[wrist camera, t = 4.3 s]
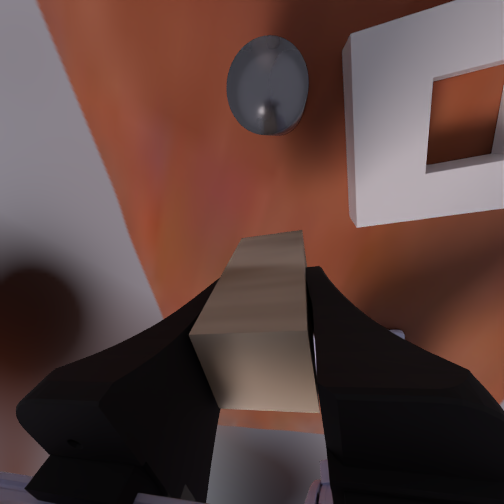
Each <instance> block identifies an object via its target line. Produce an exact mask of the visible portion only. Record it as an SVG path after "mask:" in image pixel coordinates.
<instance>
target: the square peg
mask: <svg viewBox="0 0 504 504" xmlns="http://www.w3.org/2000/svg"><path fill="white" fill-rule="evenodd" d="M305 267H307V263H306V256H305V248H304V241H303V233H302V230H299V231H291V232H284V233H277V234H270V235H262V236H255V237H248V238H242V239H241V241H240V243H239V244H238V246H237V248H236V250H235V252H234V253H233V255H232V257H231V259H230V261H229V262H228V264H227V266H226V268H225V270H224V271H223V273H222V275H221V277H220V279H219V281H218V282H217V284H216V286H215V288H214V290H213V291H212V293H211V295H210V297H209V299H208V300H207V302H206V304H205V306H204V308H203V310H202V311H201V313H200V315H199V317H198V319H197V320H196V322H195V324H194V326H193V328H192V329H191V331H190V333H189V337H190V339H191V342H192V344H193V347H194V349H195V351H196V354H197V356H198V359H199V361H200V363H201V366H202V368H203V371H204V373H205V375H206V378H207V380H208V383H209V385H210V387H211V390H212V392H213V395H214V397H215V399H216V402H217V404H218V407H219V408H223V409H244V410H265V411H286V412H307V413H320V411H319V398H318V387H317V374H316V361H315V349H314V337H313V328H312V321H311V313H310V306H309V299H308V292H307V285H306V277H305Z"/></svg>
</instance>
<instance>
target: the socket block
mask: <svg viewBox="0 0 504 504" xmlns="http://www.w3.org/2000/svg"><path fill="white" fill-rule="evenodd" d="M342 64H343V86H344V108H345V130H346V152H347V174H348V196H349V216H350V218H351V219H352V221H353V222H354V224H355V225H356V227H357V228H358V227H366V226H373V225H381V224H388V223H396V222H404V221H411V220H419V219H426V218H434V217H442V216H449V215H457V214H464V213H472V212H479V211H487V210H495V209H502V208H504V87H503V92H502V98H501V103H500V109H499V114H498V120H497V125H496V130H495V136H494V141H493V147H492V152H491V154H486V155H481V156H475V157H470V158H464V159H458V160H453V161H447V162H442V163H436V164H431V165H426V160H427V148H428V135H429V123H430V111H431V99H432V87H433V82H434V81H438V80H442V79H446V78H450V77H454V76H458V75H462V74H466V73H470V72H474V71H477V70H481V69H485V68H489V67H493V66H497V65H501V64H504V0H455V1H452V2H449V3H445V4H442V5H439V6H436V7H433V8H430V9H427V10H424V11H420V12H417V13H414V14H411V15H408V16H405V17H402V18H399V19H395V20H392V21H389V22H386V23H383V24H380V25H377V26H374V27H370V28H367V29H364V30H361V31H358V32H355V33H352V34H350V36H349V38H348V40H347V42H346V44H345V46H344V48H343V50H342Z"/></svg>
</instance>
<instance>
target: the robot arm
mask: <svg viewBox="0 0 504 504" xmlns="http://www.w3.org/2000/svg"><path fill="white" fill-rule="evenodd" d="M305 277H306V285H307V292H308V299H309V306H310V313H311V321H312V328H313V337H314V349H315V361H316V374H317V387H318V394H319V400H320V407H321V414H322V421H323V428H324V434H325V441H326V448H327V460H321V461H320V469H321V470H320V471H321V480H315V481H314V482H313V483H312V484H311V486H310V489H309V492H308V495H307V497H306V500H305V504H504V411H503V409H502V408H501V406H500V405H499V404H498V403H497V401H496V400H495V399H494V398H493V397H492V395H491V394H490V393H489V392H488V391H487V390H486V389H485V387H484V386H483V385H482V384H481V383H480V382H479V381H478V380H477V379H476V378H475V377H474V376H473V374H472V373H471V372H470V371H469V370H468V369H465V368H463V367H461V366H459V365H457V364H454V363H452V362H450V361H448V360H446V359H443V358H441V357H439V356H437V355H434V354H432V353H430V352H428V351H426V350H424V349H422V348H420V347H418V346H416V345H414V344H412V343H410V342H408V341H406V340H405V335H404V333H403V332H402V331H401V330H388V329H386V328H384V327H383V326H381V325H380V324H378V323H376V322H375V321H374V320H372V319H371V318H369V317H368V316H367V315H365V314H364V313H363V312H362V311H360V310H359V309H358V308H357V307H356V306H354V305H353V304H352V303H351V302H350V301H349V300H348V299H347V298H346V297H345V296H344V295H343V294H342V293H341V292H340V291H339V290H338V289H337V288H336V287H335V286H334V285H333V283H332V282H331V281H330V280H329V278H328V277H327V276H326V274H325V273H324V271H323V269H322V268H321V267H320V266H315V267H305ZM219 279H220V278H219ZM219 279H218V280H216V281H215V282H214V283H212V284H211V285H210V286H209V287H207V288H206V289H205V290H204V291H202V292H201V293H200V294H199V295H197V296H196V297H195V298H194V299H192V300H191V301H189V302H188V303H187V304H185V305H184V306H183V307H181V308H180V309H179V310H177V311H176V312H174V313H173V314H171V315H170V316H168V317H167V318H165V319H164V320H162V321H161V322H159V323H157V324H155V325H154V326H152V327H151V328H148V329H146V330H144V331H143V332H141V333H139V334H137V335H135V336H133V337H131V338H129V339H127V340H125V341H123V342H121V343H119V344H117V345H115V346H113V347H110V348H108V349H105V350H103V351H101V352H99V353H96V354H94V355H91V356H89V357H86V358H83V359H80V360H78V361H75V362H73V363H70V364H67V365H65V366H62V367H59V368H56V369H55V370H53V371H52V372H51V373H50V374H49V375H47V376H46V377H45V378H44V379H43V380H42V381H41V382H40V383H39V384H38V385H37V386H36V387H35V388H34V389H33V390H32V391H31V392H30V393H28V394H27V395H26V396H25V397H24V398H23V399H22V400H21V401H20V402H19V404H18V405H17V407H16V416H17V419H18V421H19V423H20V424H21V425H22V427H23V428H24V429H25V430H26V431H27V432H28V433H29V434H30V435H31V436H32V437H33V438H34V439H35V440H36V441H37V442H38V443H39V444H40V445H41V446H42V447H43V449H45V451H46V452H47V453H48V454H50V456H49V458H48V459H47V460H46V461H45V463H44V464H43V465H42V466H41V468H40V469H39V470H38V472H37V473H36V474H35V476H34V477H33V476H27V475H21V474H14V473H8V472H1V471H0V504H207V503H206V498H207V491H208V484H209V476H210V468H211V461H212V455H213V448H214V442H215V435H216V429H217V424H218V418H219V413H220V408H219V407H218V404H217V402H216V399H215V397H214V395H213V392H212V390H211V387H210V385H209V383H208V380H207V378H206V375H205V373H204V371H203V368H202V366H201V363H200V361H199V359H198V356H197V354H196V351H195V349H194V347H193V344H192V342H191V339H190V337H189V333H190V331H191V329H192V328H193V326H194V324H195V322H196V320H197V319H198V317H199V315H200V313H201V311H202V310H203V308H204V306H205V304H206V302H207V300H208V299H209V297H210V295H211V293H212V291H213V290H214V288H215V286H216V284H217V282H218V281H219Z"/></svg>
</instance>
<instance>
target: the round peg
mask: <svg viewBox="0 0 504 504" xmlns="http://www.w3.org/2000/svg"><path fill="white" fill-rule="evenodd" d="M308 86H309V78H308V71H307V67H306V63H305V61H304V59H303V57H302V55H301V53H300V52H299V50H298V49H297V48H296V47H295V46H294V45H293V44H292V43H291V42H289V41H288V40H286V39H284V38H282V37H278V36H271V35H268V36H262V37H258V38H256V39H253V40H252V41H250V42H249V43H247V44H246V45H245V46H244V47H243V48H242V49H241V50H240V51H239V52H238V54H237V55H236V56H235V58H234V60H233V62H232V64H231V67H230V69H229V73H228V78H227V98H228V102H229V106H230V109H231V111H232V113H233V115H234V117H235V118H236V119H237V121H238V122H239V123H240V124H241V125H242V126H243V127H244V128H246V129H247V130H249V131H251V132H253V133H256V134H261V135H273V136H281V135H285V134H287V133H289V132H291V131H292V130H293V129H294V128H295V127H296V126H297V125H298V124H299V122H300V120H301V118H302V115H303V111H304V107H305V103H306V99H307V94H308Z"/></svg>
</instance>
